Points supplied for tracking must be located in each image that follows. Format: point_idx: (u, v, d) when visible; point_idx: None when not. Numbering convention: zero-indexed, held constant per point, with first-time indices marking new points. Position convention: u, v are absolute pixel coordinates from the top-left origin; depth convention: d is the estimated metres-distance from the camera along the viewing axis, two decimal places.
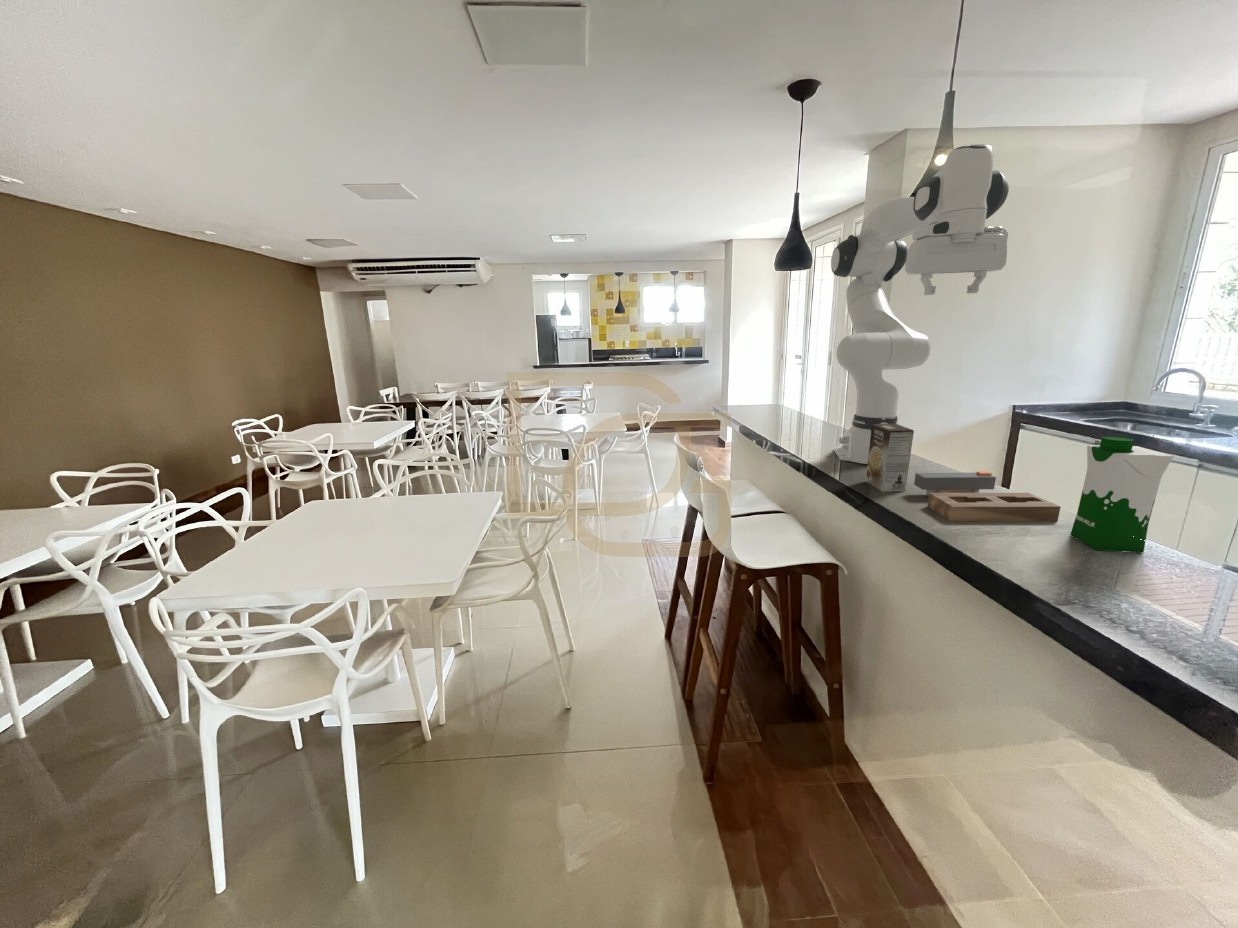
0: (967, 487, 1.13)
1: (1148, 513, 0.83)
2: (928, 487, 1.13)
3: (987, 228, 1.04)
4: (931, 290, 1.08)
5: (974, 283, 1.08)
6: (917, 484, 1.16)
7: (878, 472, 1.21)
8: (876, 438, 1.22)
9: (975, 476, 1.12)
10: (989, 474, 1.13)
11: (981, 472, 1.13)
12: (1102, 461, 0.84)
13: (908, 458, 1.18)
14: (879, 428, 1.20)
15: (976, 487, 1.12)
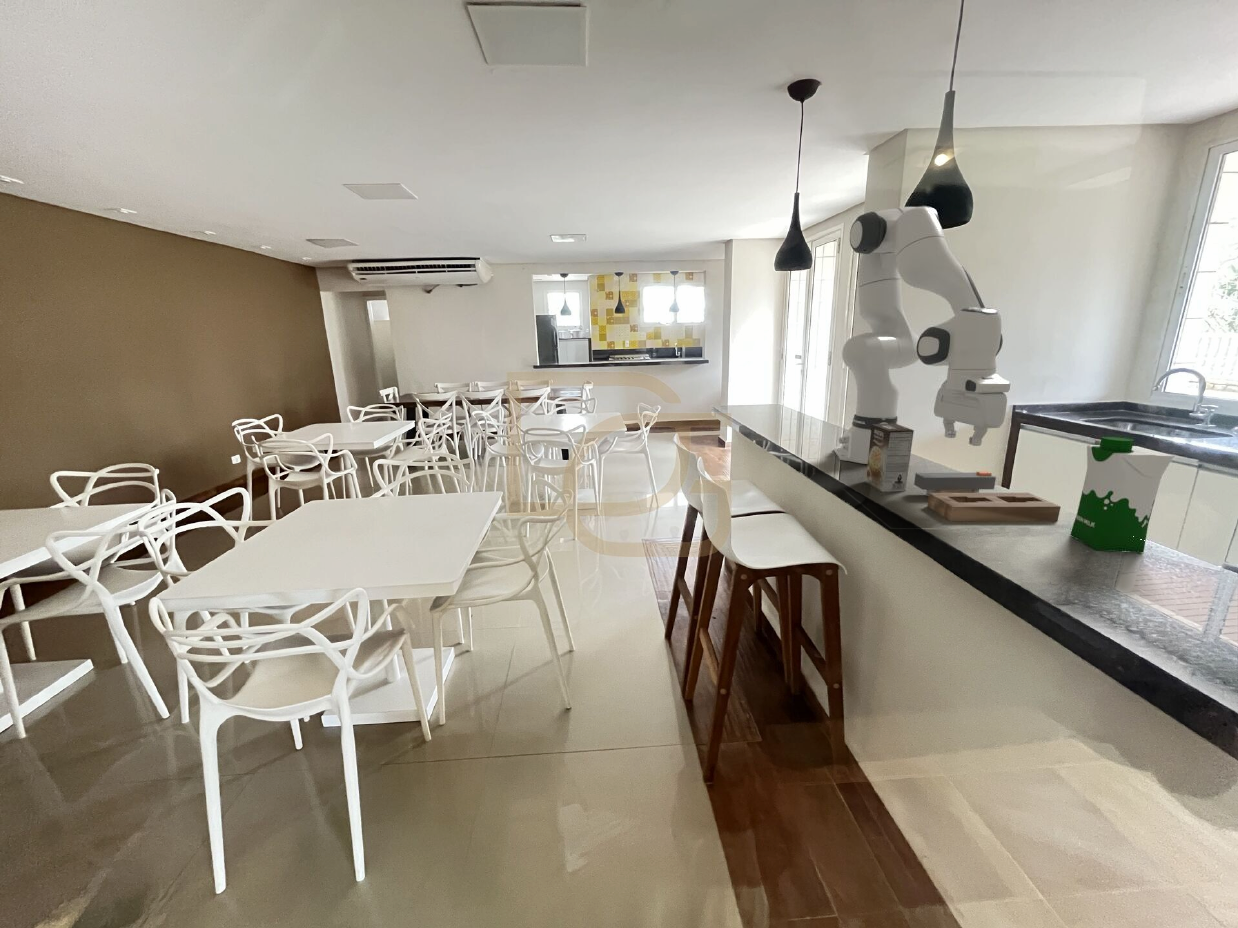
0: (967, 487, 1.13)
1: (1148, 513, 0.83)
2: (928, 487, 1.13)
3: None
4: None
5: (950, 428, 1.16)
6: (917, 484, 1.16)
7: (878, 472, 1.21)
8: (876, 438, 1.22)
9: (975, 476, 1.12)
10: (989, 474, 1.13)
11: (981, 472, 1.13)
12: (1102, 461, 0.84)
13: (908, 458, 1.18)
14: (879, 428, 1.20)
15: (976, 487, 1.12)
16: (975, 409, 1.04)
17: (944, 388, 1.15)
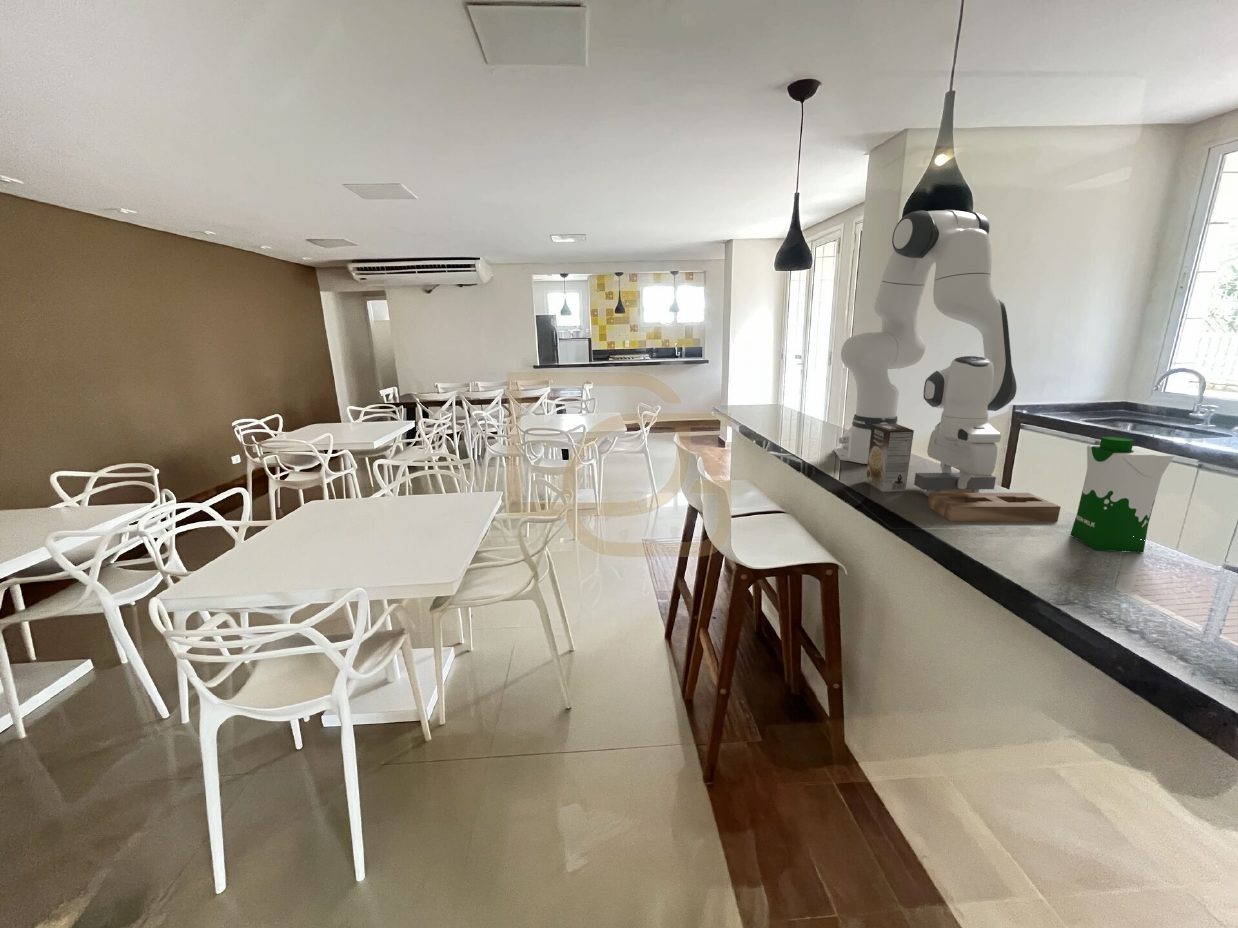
0: (967, 487, 1.13)
1: (1148, 513, 0.83)
2: (928, 487, 1.13)
3: None
4: None
5: (947, 472, 1.17)
6: (917, 484, 1.16)
7: (878, 472, 1.21)
8: (876, 438, 1.22)
9: None
10: None
11: None
12: (1102, 461, 0.84)
13: (908, 458, 1.18)
14: (879, 428, 1.20)
15: (976, 487, 1.12)
16: (967, 457, 1.07)
17: (937, 431, 1.18)
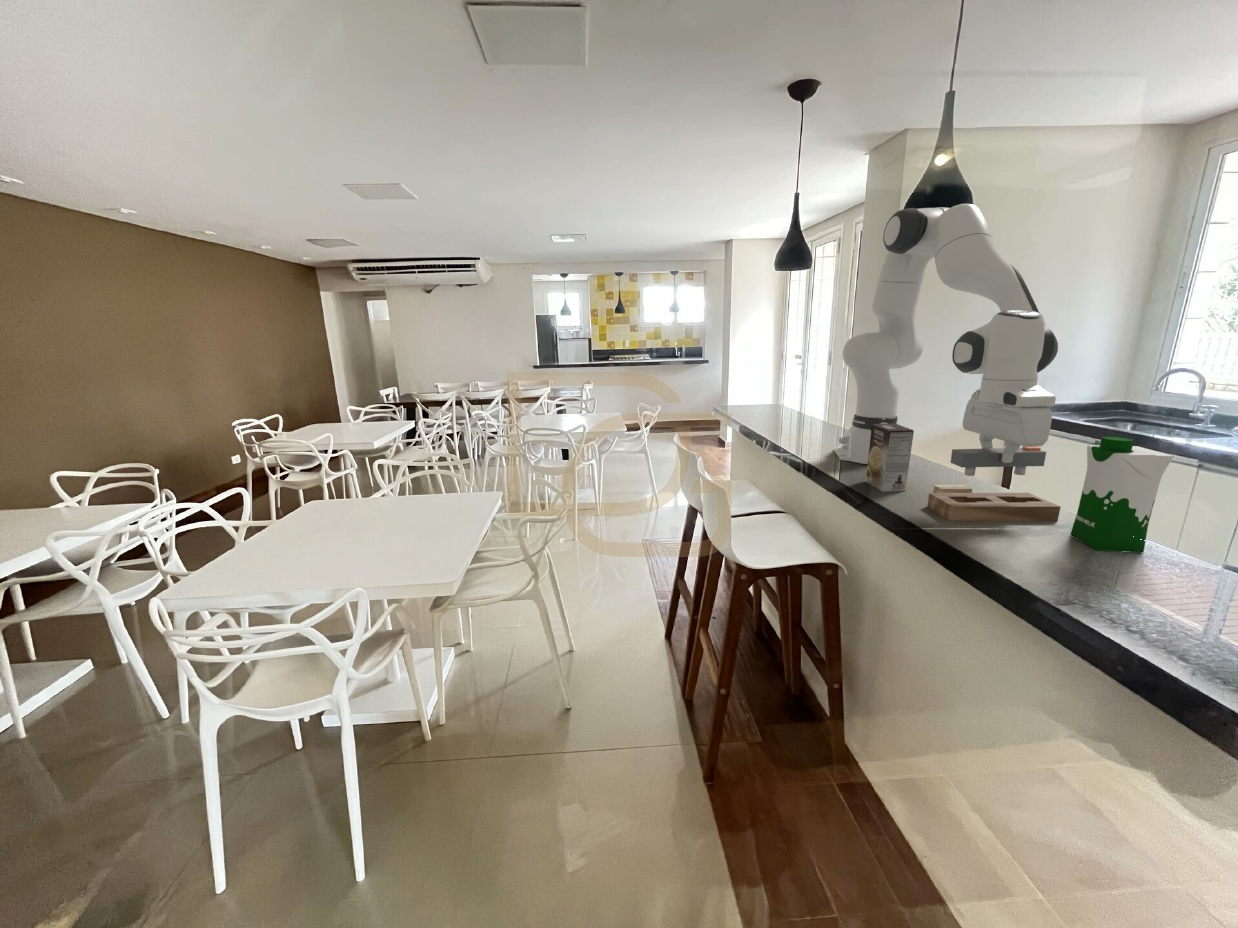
0: (1013, 464, 0.98)
1: (1148, 513, 0.83)
2: (968, 464, 0.99)
3: None
4: None
5: (987, 446, 1.03)
6: (954, 462, 1.02)
7: (878, 472, 1.21)
8: (876, 438, 1.22)
9: (1022, 451, 0.98)
10: (1038, 449, 0.98)
11: (1028, 447, 0.99)
12: (1102, 461, 0.84)
13: (908, 458, 1.18)
14: (879, 428, 1.20)
15: (1023, 464, 0.98)
16: (1015, 425, 0.92)
17: (975, 399, 1.04)
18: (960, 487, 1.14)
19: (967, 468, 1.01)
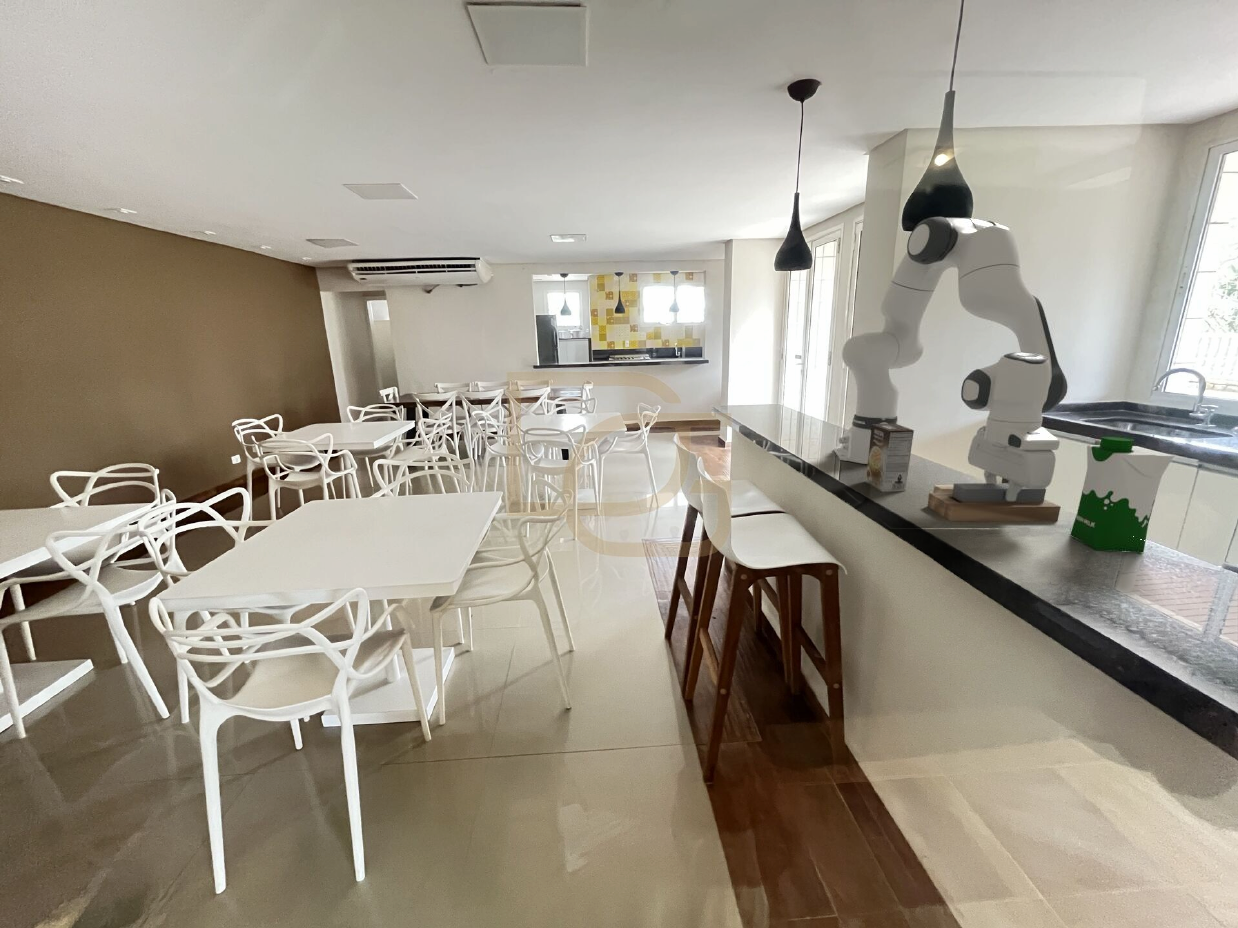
0: None
1: (1148, 513, 0.83)
2: (969, 500, 1.01)
3: None
4: None
5: (992, 482, 1.05)
6: (956, 496, 1.04)
7: (878, 472, 1.21)
8: (876, 438, 1.22)
9: None
10: None
11: None
12: (1102, 461, 0.84)
13: (908, 458, 1.18)
14: (879, 428, 1.20)
15: (1023, 500, 1.00)
16: (1019, 466, 0.95)
17: (981, 436, 1.06)
18: None
19: None
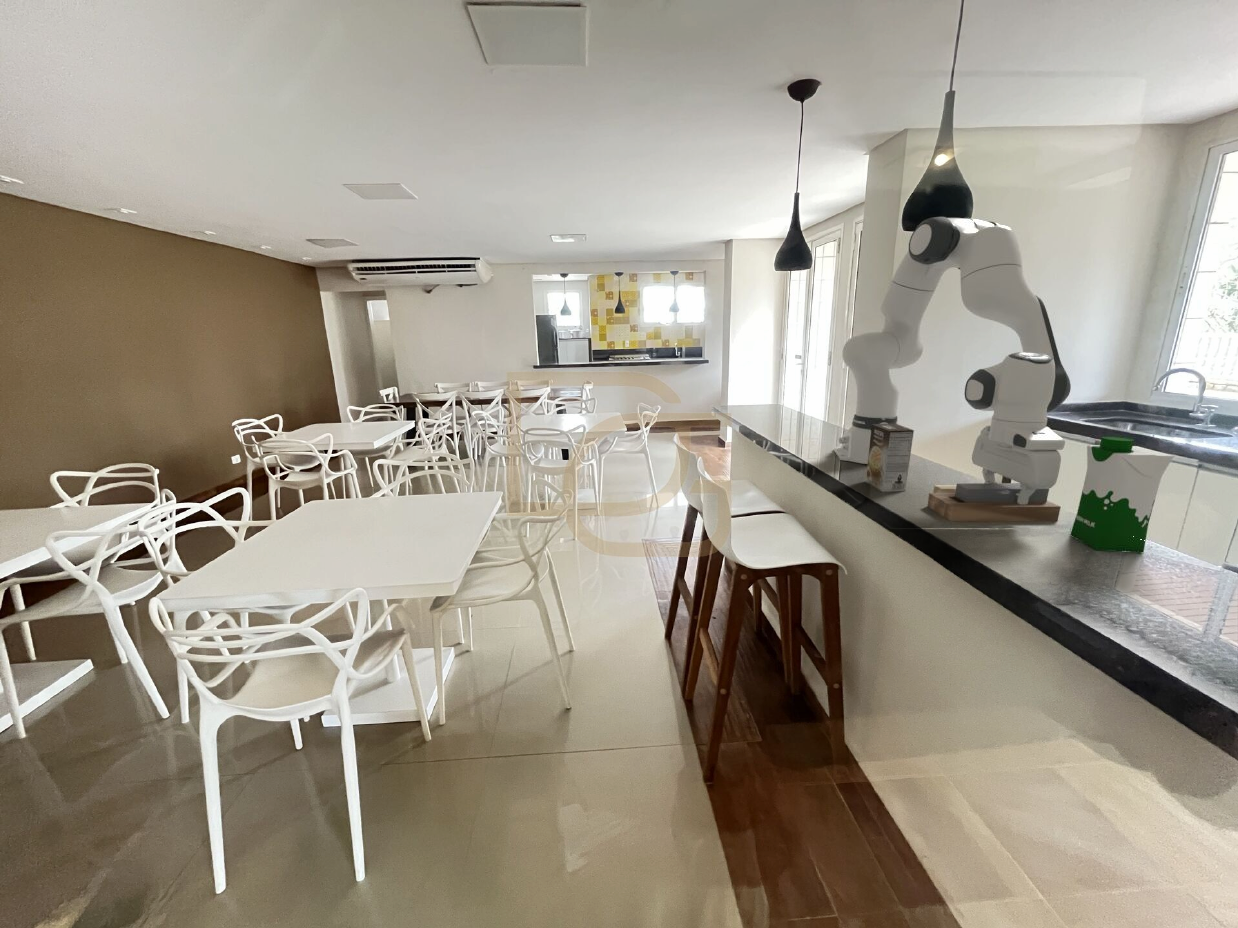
0: None
1: (1148, 513, 0.83)
2: (972, 500, 1.01)
3: None
4: None
5: (990, 479, 1.07)
6: (959, 496, 1.04)
7: (878, 472, 1.21)
8: (876, 438, 1.22)
9: None
10: None
11: None
12: (1102, 461, 0.84)
13: (908, 458, 1.18)
14: (879, 428, 1.20)
15: None
16: (1024, 466, 0.95)
17: (985, 436, 1.06)
18: None
19: None
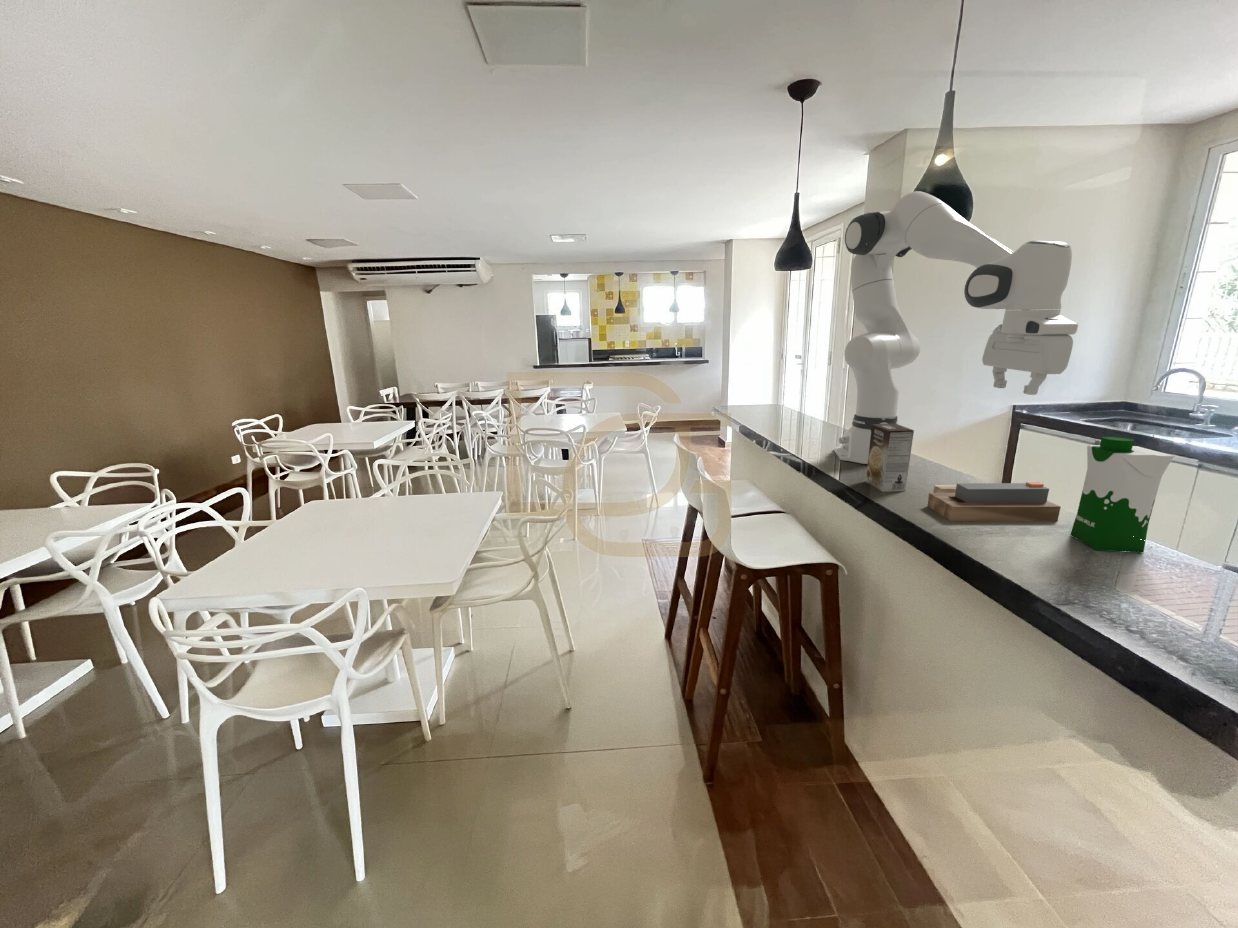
0: (1016, 500, 1.01)
1: (1148, 513, 0.83)
2: (972, 500, 1.01)
3: None
4: None
5: (1000, 378, 1.07)
6: (959, 496, 1.04)
7: (878, 472, 1.21)
8: (876, 438, 1.22)
9: (1025, 487, 1.00)
10: (1041, 485, 1.01)
11: (1031, 483, 1.01)
12: (1102, 461, 0.84)
13: (908, 458, 1.18)
14: (879, 428, 1.20)
15: (1026, 500, 1.00)
16: (1035, 354, 0.95)
17: (997, 333, 1.06)
18: None
19: None
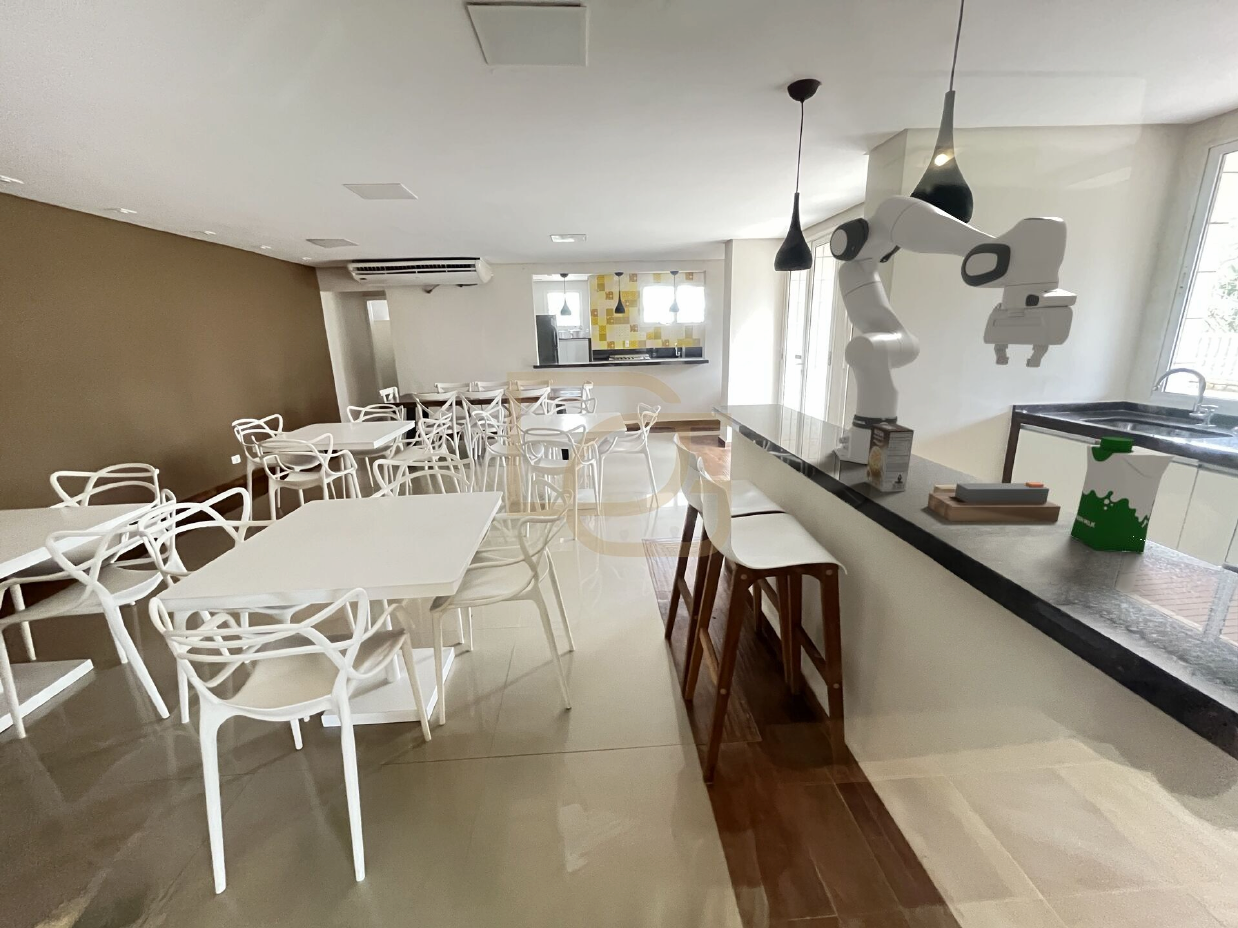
0: (1016, 500, 1.01)
1: (1148, 513, 0.83)
2: (972, 500, 1.01)
3: None
4: None
5: (1001, 355, 1.09)
6: (959, 496, 1.04)
7: (878, 472, 1.21)
8: (876, 438, 1.22)
9: (1025, 487, 1.00)
10: (1041, 485, 1.01)
11: (1031, 483, 1.01)
12: (1102, 461, 0.84)
13: (908, 458, 1.18)
14: (879, 428, 1.20)
15: (1026, 500, 1.00)
16: (1036, 326, 0.97)
17: (997, 311, 1.08)
18: None
19: None
